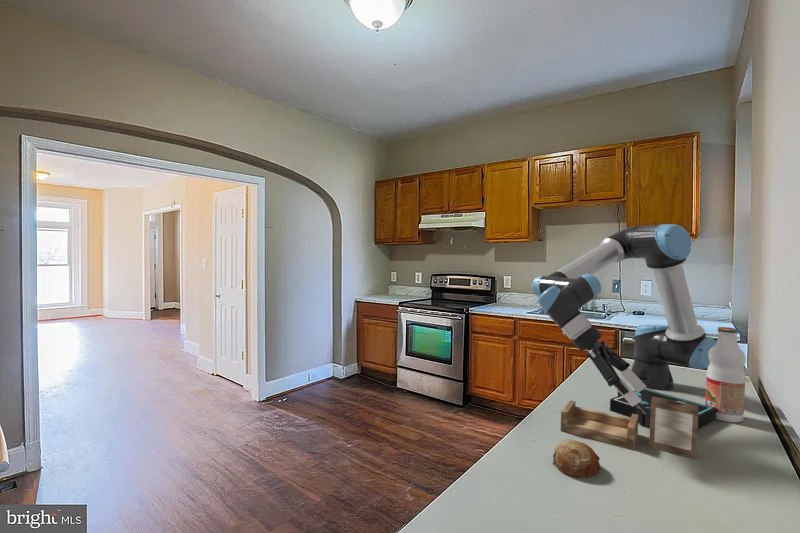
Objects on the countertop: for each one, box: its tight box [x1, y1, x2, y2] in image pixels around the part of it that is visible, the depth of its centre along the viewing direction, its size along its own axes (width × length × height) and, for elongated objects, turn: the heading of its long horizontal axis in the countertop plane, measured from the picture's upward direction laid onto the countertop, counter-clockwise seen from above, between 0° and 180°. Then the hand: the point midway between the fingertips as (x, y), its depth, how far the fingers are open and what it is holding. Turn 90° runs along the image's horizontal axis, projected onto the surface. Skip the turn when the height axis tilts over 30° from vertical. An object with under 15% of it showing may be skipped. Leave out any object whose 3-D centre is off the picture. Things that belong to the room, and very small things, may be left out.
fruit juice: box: [704, 326, 746, 424], centre depth 126 cm, size 9×9×28 cm
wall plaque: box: [609, 388, 717, 430], centre depth 128 cm, size 30×4×30 cm
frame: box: [648, 397, 699, 459], centre depth 105 cm, size 10×5×12 cm, turn 55°
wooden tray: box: [560, 400, 639, 450], centre depth 114 cm, size 18×11×6 cm, turn 55°
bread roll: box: [551, 438, 601, 478], centre depth 95 cm, size 10×10×8 cm
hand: (639, 396), depth 109 cm, fingers open, 13 cm apart
